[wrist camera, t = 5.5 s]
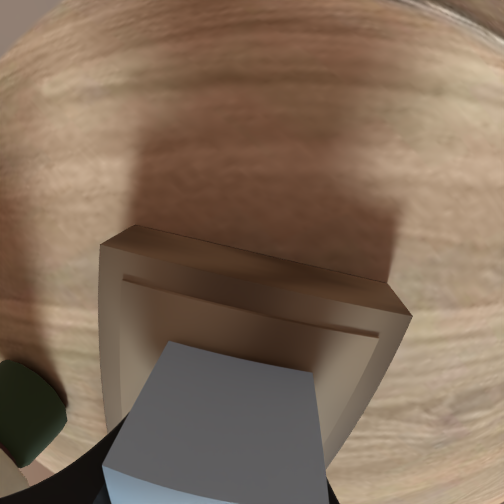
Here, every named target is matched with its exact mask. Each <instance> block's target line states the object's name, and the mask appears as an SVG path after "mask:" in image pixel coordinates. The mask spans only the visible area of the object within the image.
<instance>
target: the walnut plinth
mask: <svg viewBox="0 0 504 504" xmlns="http://www.w3.org/2000/svg"><path fill="white" fill-rule="evenodd" d="M412 317H413V316H412V315H411V313H410V312H409V311H408V309H407V308H406V307H405V305H404V304H403V303H402V302H401V300H400V299H399V298H398V296H397V295H396V294H395V292H394V291H393V290H392V289H391V287H390V286H389V285H388V284H387V283H383V282H378V281H374V280H370V279H365V278H361V277H357V276H353V275H348V274H344V273H340V272H335V271H331V270H327V269H322V268H318V267H314V266H309V265H305V264H301V263H296V262H292V261H288V260H284V259H279V258H275V257H271V256H266V255H262V254H258V253H253V252H249V251H245V250H240V249H236V248H232V247H228V246H223V245H219V244H215V243H210V242H206V241H202V240H197V239H193V238H189V237H184V236H180V235H176V234H172V233H167V232H163V231H159V230H154V229H150V228H146V227H141V226H137V225H134V226H132V227H130V228H128V229H126V230H125V231H123V232H121V233H119V234H118V235H116V236H114V237H112V238H111V239H109V240H107V241H105V242H104V243H102V244H100V256H99V284H98V323H99V351H100V368H101V381H102V392H103V401H104V410H105V418H106V426H107V433H108V434H109V433H110V432H111V431H112V430H113V429H114V428H115V427H116V426H117V425H118V424H119V423H120V422H121V421H122V420H123V418H124V417H125V416H126V415H127V414H128V413H129V412H130V411H131V409H132V407H133V405H134V403H135V401H136V399H137V397H138V396H139V394H140V392H141V390H142V388H143V386H144V385H145V383H146V381H147V379H148V377H149V375H150V374H151V372H152V370H153V368H154V366H155V364H156V363H157V361H158V359H159V357H160V355H161V354H162V352H163V350H164V348H165V346H166V345H167V343H168V341H172V342H175V343H179V344H183V345H186V346H190V347H194V348H198V349H202V350H206V351H210V352H214V353H218V354H222V355H226V356H231V357H235V358H239V359H244V360H248V361H253V362H258V363H263V364H268V365H273V366H278V367H283V368H288V369H294V370H299V371H305V372H311V373H313V379H314V386H315V393H316V400H317V407H318V415H319V422H320V430H321V437H322V445H323V453H324V462H325V470H326V469H327V467H328V466H329V464H330V463H331V461H332V460H333V459H334V457H335V456H336V454H337V453H338V451H339V450H340V448H341V447H342V445H343V444H344V442H345V441H346V439H347V438H348V436H349V435H350V433H351V432H352V430H353V428H354V427H355V425H356V424H357V422H358V420H359V419H360V417H361V415H362V414H363V412H364V410H365V409H366V407H367V405H368V404H369V402H370V400H371V398H372V397H373V395H374V393H375V391H376V390H377V388H378V386H379V384H380V382H381V380H382V379H383V377H384V375H385V373H386V371H387V369H388V367H389V365H390V363H391V361H392V359H393V357H394V355H395V353H396V351H397V349H398V347H399V345H400V343H401V341H402V339H403V337H404V335H405V332H406V330H407V328H408V326H409V324H410V321H411V319H412Z"/></svg>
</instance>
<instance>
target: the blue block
mask: <svg viewBox="0 0 504 504" xmlns="http://www.w3.org/2000/svg"><path fill="white" fill-rule="evenodd" d="M102 468H103V472H104V477H105V481H106V485H107V489H108V492H109V496H110V500H111V503H112V504H329V497H328V488H327V479H326V470H325V462H324V453H323V445H322V437H321V430H320V422H319V415H318V407H317V400H316V393H315V386H314V379H313V373H311V372H305V371H299V370H294V369H288V368H283V367H278V366H273V365H268V364H263V363H258V362H253V361H248V360H244V359H239V358H235V357H231V356H226V355H222V354H218V353H214V352H210V351H206V350H202V349H198V348H194V347H190V346H186V345H183V344H179V343H175V342H172V341H168V343H167V345H166V346H165V348H164V350H163V352H162V354H161V355H160V357H159V359H158V361H157V363H156V364H155V366H154V368H153V370H152V372H151V374H150V375H149V377H148V379H147V381H146V383H145V385H144V386H143V388H142V390H141V392H140V394H139V396H138V397H137V399H136V401H135V403H134V405H133V407H132V409H131V411H130V412H129V414H128V416H127V418H126V420H125V422H124V424H123V426H122V427H121V429H120V431H119V433H118V435H117V437H116V439H115V441H114V443H113V445H112V447H111V448H110V450H109V452H108V454H107V456H106V458H105V460H104V462H103V464H102Z"/></svg>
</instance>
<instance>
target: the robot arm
mask: <svg viewBox="0 0 504 504" xmlns="http://www.w3.org/2000/svg"><path fill="white" fill-rule="evenodd" d="M128 414H129V413H128ZM128 414H127V415H126V416H125V417H124V418H123V420H122V421H121V422H120V423H119V424H118V425H117V426H116V427H115V428H114V429H113V430H112V431H111V432H110V433H109V434H107V435H106V436H105V437H104V438H103V439H102V440H101V441H100V442H98V443H97V444H96V445H95V446H94V447H93V448H92V449H90V450H89V451H88V452H86V453H85V454H84V455H83V456H81V457H80V458H79V459H77V460H76V461H75V462H73V463H72V464H70V465H69V466H67V467H66V468H64V469H63V470H61V471H60V472H58V473H56V474H54V475H53V476H51V477H49V478H47V479H46V480H43V481H41V482H40V483H38V484H36V485H33V486H31V487H29V488H27V489H24V490H21V491H19V492H16V493H13V494H10V495H8V496H5V497H1V498H0V504H112V503H111V500H110V496H109V492H108V489H107V485H106V481H105V477H104V472H103V468H102V464H103V462H104V460H105V458H106V456H107V454H108V452H109V450H110V448H111V447H112V445H113V443H114V441H115V439H116V437H117V435H118V433H119V431H120V429H121V427H122V426H123V424H124V422H125V420H126V418H127V416H128ZM326 479H327V477H326ZM327 488H328V497H329V504H339V502H338V500H337V498H336V496H335V494H334V492H333V490H332V488H331V486H330V484H329V481H328V479H327Z"/></svg>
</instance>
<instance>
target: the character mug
mask: <svg viewBox="0 0 504 504" xmlns="http://www.w3.org/2000/svg"><path fill="white" fill-rule="evenodd" d="M66 422H67V416H66V410H65V406H64V404H63V403H62V401H61V400H60V398H59V396H58V395H57V393H56V392H55V390H54V389H53V388H52V387H51V386H50V385H49V384H48V383H46V382H45V381H44V380H43V379H42V378H41V377H40V376H39V375H38V374H36V373H35V372H33V371H31V370H30V369H28V368H27V367H25V366H23V365H22V364H20V363H16V362H13V361H10V360H5V361H2V362H1V363H0V498H1V497H5V496H8V495H10V494H13V493H16V492H19V491H21V490H24V489H27V488H29V487H30V486H29V483H28V481H27V479H26V478H25V476H24V475H23V474H22V473H21V471H20V470H19V469H18V468H23V467H25V466H28V465H29V464H30V463H31V462H32V461H33V460H34V459H35V458H36V457H37V456H38V455H39V454H40V453H41V452H42V451H43V450H44V449H45V448H46V447H47V446H48V445H49V444H50V443H51V442H52V441H53V440H54V438H55V437H56V436H57V435H58V434H59V433H60V432H61V430H62V429H63V428H64V426H65V424H66Z"/></svg>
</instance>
